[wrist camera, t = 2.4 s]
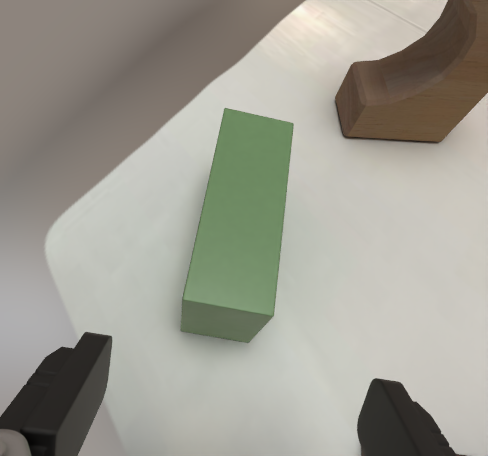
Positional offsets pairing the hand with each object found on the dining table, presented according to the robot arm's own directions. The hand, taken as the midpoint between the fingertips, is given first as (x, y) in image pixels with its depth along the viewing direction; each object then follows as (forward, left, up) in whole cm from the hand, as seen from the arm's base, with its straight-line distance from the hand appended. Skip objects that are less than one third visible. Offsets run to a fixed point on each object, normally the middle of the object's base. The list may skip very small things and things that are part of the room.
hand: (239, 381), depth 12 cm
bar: (0, +11, -16) cm, 19 cm away
